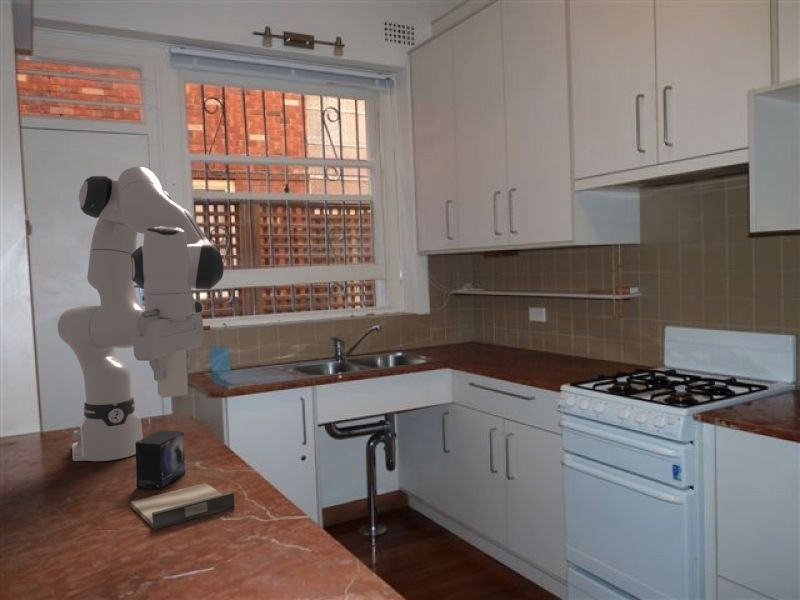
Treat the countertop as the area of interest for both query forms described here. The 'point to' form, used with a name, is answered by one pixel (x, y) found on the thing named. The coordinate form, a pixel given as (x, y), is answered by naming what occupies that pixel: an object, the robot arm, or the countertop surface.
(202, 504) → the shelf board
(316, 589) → the countertop surface
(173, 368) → the carton
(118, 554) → the countertop surface
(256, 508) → the countertop surface
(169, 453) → the small box
